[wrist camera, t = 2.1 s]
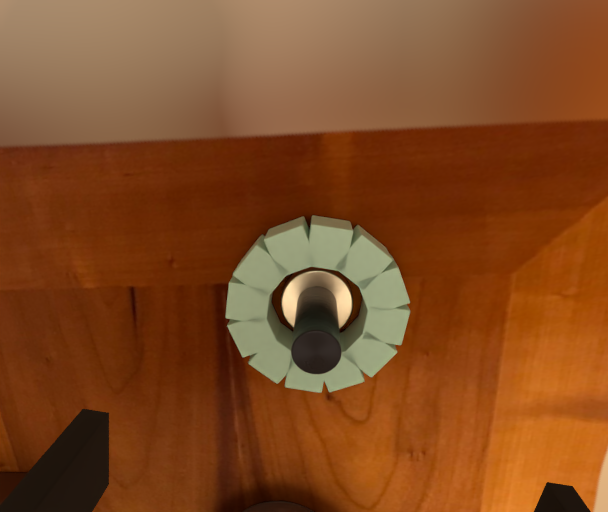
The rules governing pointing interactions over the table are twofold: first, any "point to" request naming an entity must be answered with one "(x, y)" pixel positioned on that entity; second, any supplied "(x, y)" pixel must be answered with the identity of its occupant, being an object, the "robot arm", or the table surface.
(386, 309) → the ring
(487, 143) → the table surface
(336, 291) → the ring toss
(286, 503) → the planter
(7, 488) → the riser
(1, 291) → the table surface
